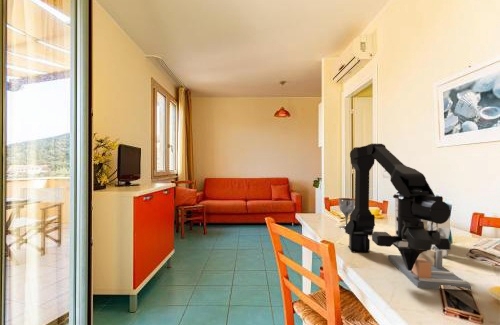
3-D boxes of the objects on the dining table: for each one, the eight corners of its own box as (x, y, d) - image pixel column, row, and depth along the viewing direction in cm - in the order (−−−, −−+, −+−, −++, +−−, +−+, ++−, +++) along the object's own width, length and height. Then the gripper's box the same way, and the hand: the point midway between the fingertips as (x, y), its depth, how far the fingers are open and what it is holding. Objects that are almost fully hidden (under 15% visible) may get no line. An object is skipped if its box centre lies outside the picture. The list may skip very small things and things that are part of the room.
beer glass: (453, 259, 91) (453, 216, 91) (430, 256, 93) (431, 215, 93) (445, 252, 97) (445, 213, 97) (423, 250, 99) (424, 211, 99)
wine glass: (357, 229, 131) (357, 200, 131) (341, 229, 131) (341, 200, 131) (351, 225, 138) (351, 198, 139) (336, 225, 139) (336, 198, 139)
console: (417, 287, 70) (417, 261, 70) (388, 259, 90) (388, 239, 90) (471, 291, 68) (471, 264, 68) (428, 261, 88) (428, 241, 88)
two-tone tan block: (437, 266, 80) (437, 251, 80) (434, 266, 80) (434, 251, 80) (414, 255, 89) (414, 242, 89) (411, 255, 89) (411, 242, 89)
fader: (419, 277, 71) (419, 262, 71) (412, 272, 75) (412, 257, 75) (431, 278, 71) (431, 263, 71) (424, 272, 75) (424, 258, 75)
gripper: (384, 220, 67) (384, 280, 67) (464, 223, 64) (464, 286, 64) (371, 212, 78) (371, 263, 78) (439, 214, 75) (439, 268, 75)
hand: (409, 270), depth 74 cm, fingers closed
